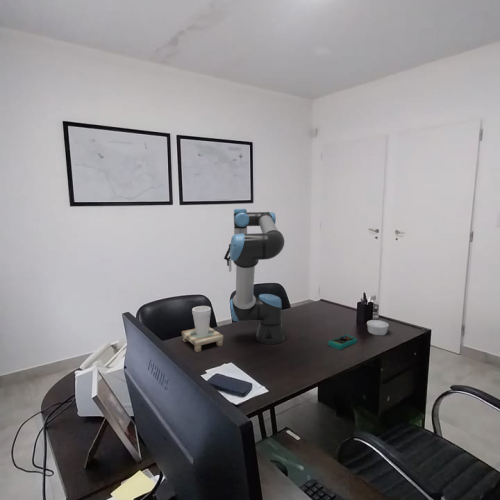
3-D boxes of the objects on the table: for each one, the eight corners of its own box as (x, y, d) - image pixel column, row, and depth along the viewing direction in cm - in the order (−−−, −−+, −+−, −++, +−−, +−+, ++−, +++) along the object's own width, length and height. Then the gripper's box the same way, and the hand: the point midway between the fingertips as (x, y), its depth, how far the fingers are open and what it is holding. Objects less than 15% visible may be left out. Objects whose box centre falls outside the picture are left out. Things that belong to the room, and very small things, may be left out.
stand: (223, 345, 171) (223, 335, 170) (196, 352, 163) (195, 342, 162) (207, 334, 186) (207, 325, 185) (182, 340, 178) (181, 331, 177)
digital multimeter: (357, 343, 172) (357, 337, 172) (339, 351, 163) (339, 345, 163) (345, 338, 178) (345, 333, 178) (327, 346, 169) (327, 340, 169)
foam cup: (196, 337, 168) (195, 312, 166) (190, 331, 176) (189, 307, 174) (214, 334, 172) (213, 309, 170) (207, 328, 180) (207, 305, 178)
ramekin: (386, 337, 178) (387, 328, 177) (364, 334, 183) (365, 324, 182) (389, 330, 187) (390, 321, 186) (368, 327, 193) (368, 318, 192)
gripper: (263, 235, 196) (263, 270, 199) (221, 234, 201) (222, 269, 204) (260, 236, 189) (261, 273, 192) (218, 236, 194) (219, 272, 197)
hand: (241, 271), depth 198 cm, fingers open, 13 cm apart
